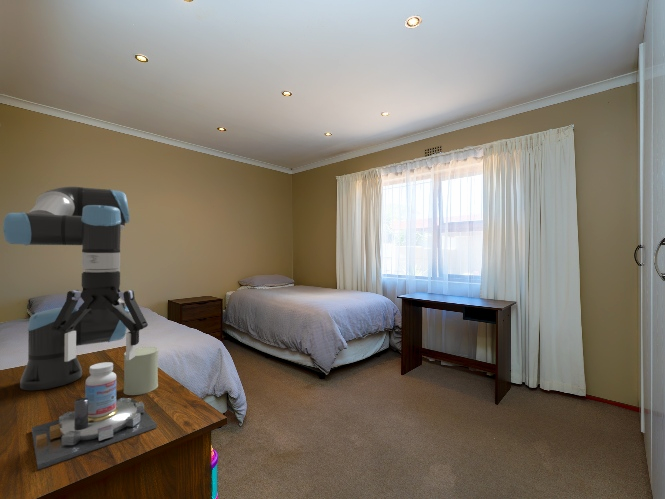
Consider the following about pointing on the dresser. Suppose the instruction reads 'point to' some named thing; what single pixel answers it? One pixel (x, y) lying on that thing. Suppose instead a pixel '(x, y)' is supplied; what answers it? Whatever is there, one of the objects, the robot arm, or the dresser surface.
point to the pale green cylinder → (141, 371)
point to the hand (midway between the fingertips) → (100, 359)
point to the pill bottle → (101, 390)
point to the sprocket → (95, 422)
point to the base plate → (56, 452)
